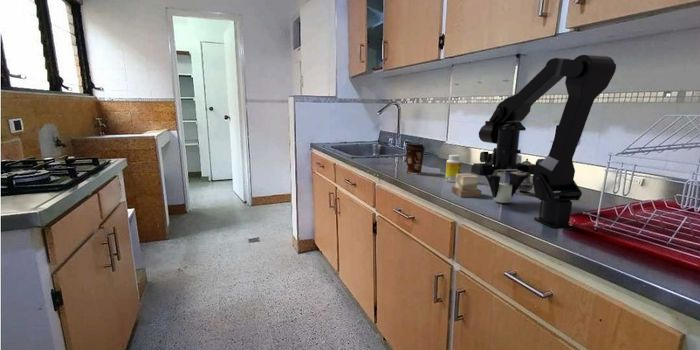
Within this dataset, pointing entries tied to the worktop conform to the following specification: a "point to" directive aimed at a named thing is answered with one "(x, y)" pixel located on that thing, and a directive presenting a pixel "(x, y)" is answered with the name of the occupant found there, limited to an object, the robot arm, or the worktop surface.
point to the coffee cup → (414, 157)
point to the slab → (466, 192)
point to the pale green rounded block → (504, 193)
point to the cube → (466, 181)
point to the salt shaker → (525, 185)
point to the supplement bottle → (453, 168)
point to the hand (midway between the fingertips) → (502, 197)
